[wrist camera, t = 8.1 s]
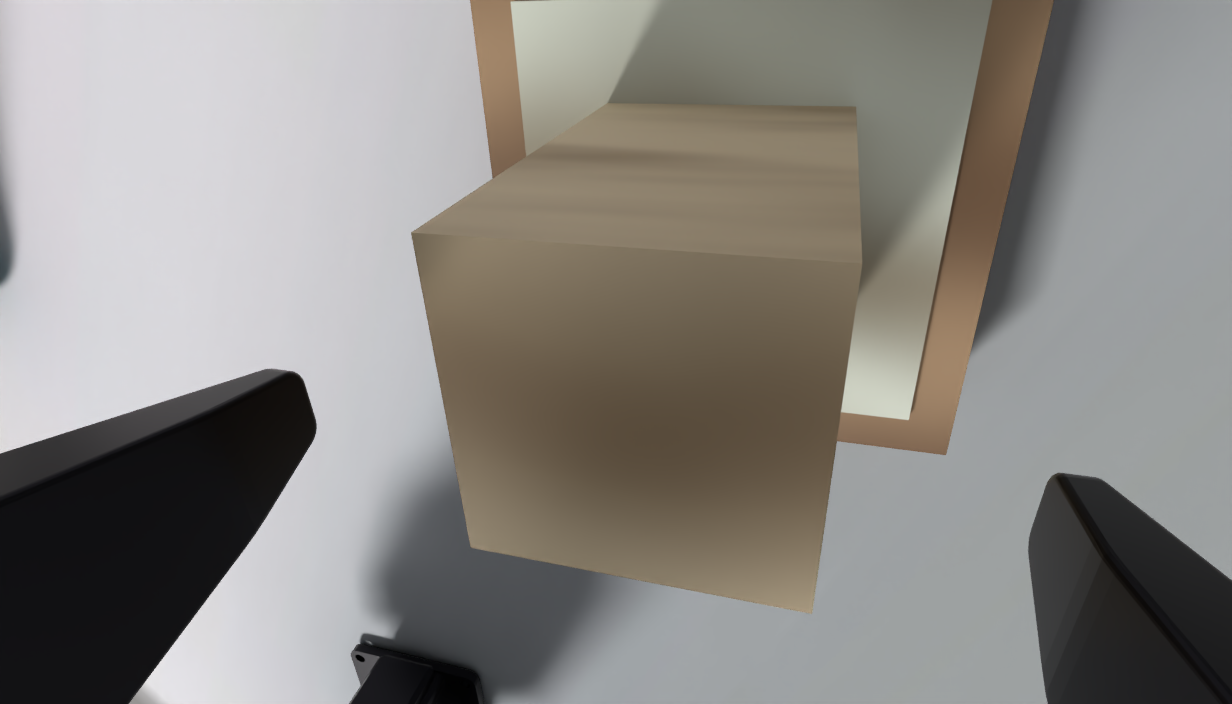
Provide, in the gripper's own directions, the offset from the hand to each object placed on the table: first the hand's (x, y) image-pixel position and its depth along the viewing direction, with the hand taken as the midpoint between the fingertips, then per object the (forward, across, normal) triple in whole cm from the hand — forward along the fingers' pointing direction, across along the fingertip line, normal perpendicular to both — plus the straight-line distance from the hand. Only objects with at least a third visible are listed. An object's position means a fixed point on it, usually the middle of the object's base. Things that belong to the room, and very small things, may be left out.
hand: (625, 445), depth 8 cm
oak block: (+8, 0, 0) cm, 8 cm away
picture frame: (+12, 0, 0) cm, 12 cm away
